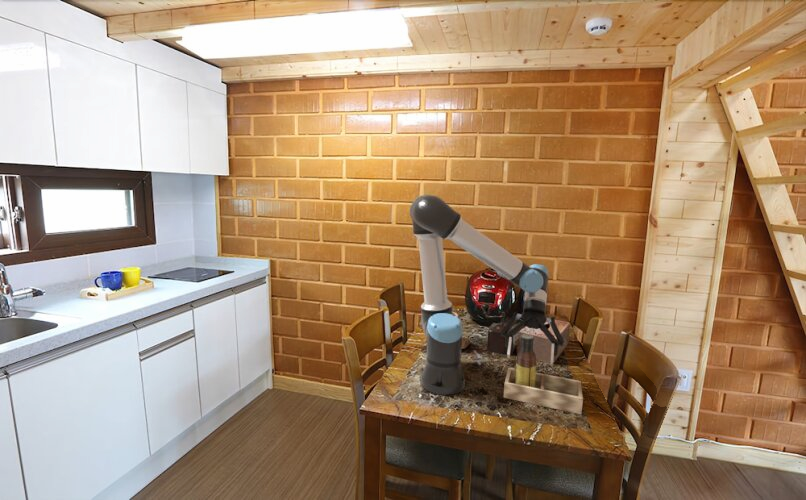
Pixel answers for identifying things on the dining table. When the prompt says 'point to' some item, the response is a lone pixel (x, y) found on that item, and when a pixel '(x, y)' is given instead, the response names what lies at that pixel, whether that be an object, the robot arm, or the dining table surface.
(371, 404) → the dining table surface
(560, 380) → the birch caddy
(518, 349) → the tissue box cover
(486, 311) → the manual coffee grinder
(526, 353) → the sauce bottle
